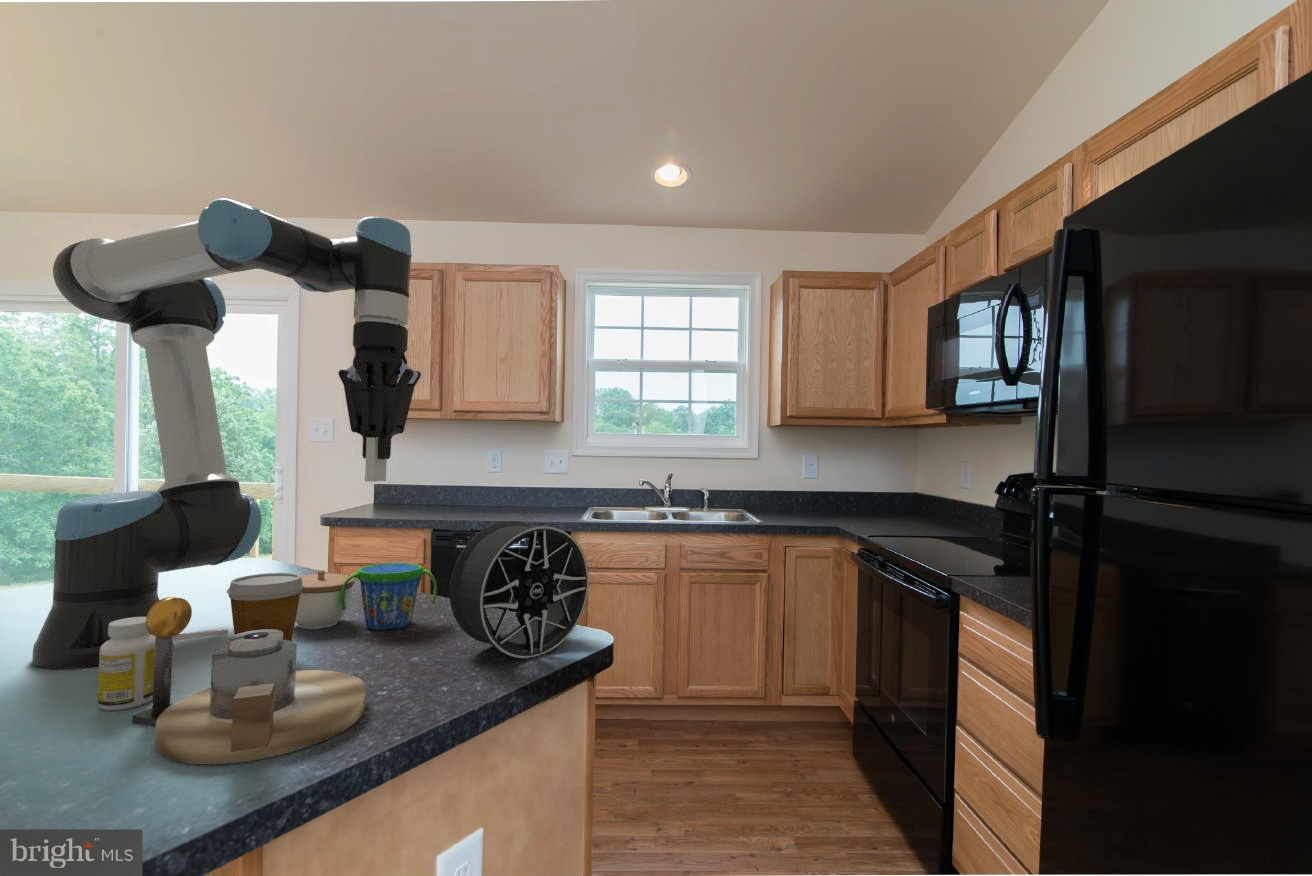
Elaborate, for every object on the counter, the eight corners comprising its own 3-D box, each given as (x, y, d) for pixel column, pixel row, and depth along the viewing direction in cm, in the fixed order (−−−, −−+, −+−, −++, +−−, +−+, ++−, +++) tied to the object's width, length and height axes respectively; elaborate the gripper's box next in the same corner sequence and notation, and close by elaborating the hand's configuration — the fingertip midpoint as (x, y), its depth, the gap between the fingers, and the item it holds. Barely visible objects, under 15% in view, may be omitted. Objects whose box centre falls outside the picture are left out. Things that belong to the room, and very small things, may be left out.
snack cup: (437, 614, 115) (438, 560, 115) (434, 630, 105) (435, 570, 105) (346, 620, 110) (347, 564, 111) (333, 637, 100) (335, 575, 101)
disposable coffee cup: (283, 647, 95) (286, 569, 95) (313, 660, 89) (316, 578, 90) (212, 663, 87) (215, 579, 87) (240, 679, 82) (243, 589, 82)
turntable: (185, 698, 74) (187, 641, 74) (366, 677, 83) (368, 625, 83) (115, 792, 54) (119, 712, 55) (364, 751, 63) (366, 682, 63)
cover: (219, 695, 71) (221, 628, 71) (298, 686, 74) (301, 622, 74) (200, 724, 63) (204, 649, 64) (289, 712, 67) (292, 641, 67)
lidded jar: (324, 612, 114) (327, 562, 114) (365, 621, 110) (368, 569, 110) (267, 626, 104) (271, 571, 105) (311, 637, 100) (314, 580, 100)
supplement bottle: (145, 690, 77) (148, 612, 77) (164, 700, 74) (168, 619, 75) (89, 704, 73) (93, 622, 73) (107, 716, 70) (111, 629, 70)
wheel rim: (477, 672, 86) (482, 530, 87) (446, 656, 93) (451, 524, 93) (587, 643, 101) (590, 521, 101) (553, 631, 107) (557, 516, 107)
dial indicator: (127, 724, 68) (133, 600, 68) (188, 700, 74) (193, 587, 75) (169, 731, 66) (175, 605, 67) (227, 706, 73) (232, 591, 73)
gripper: (434, 328, 94) (428, 481, 93) (362, 330, 97) (357, 478, 97) (402, 317, 87) (396, 483, 86) (326, 320, 90) (319, 480, 89)
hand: (375, 480), depth 91 cm, fingers closed
